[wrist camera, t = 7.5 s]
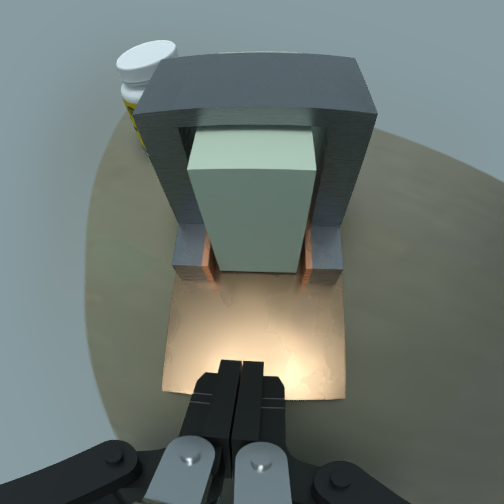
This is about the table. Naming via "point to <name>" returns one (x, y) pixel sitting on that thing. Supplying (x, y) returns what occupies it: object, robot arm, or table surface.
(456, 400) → the table surface
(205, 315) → the base
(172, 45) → the supplement bottle
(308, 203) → the mint green block
